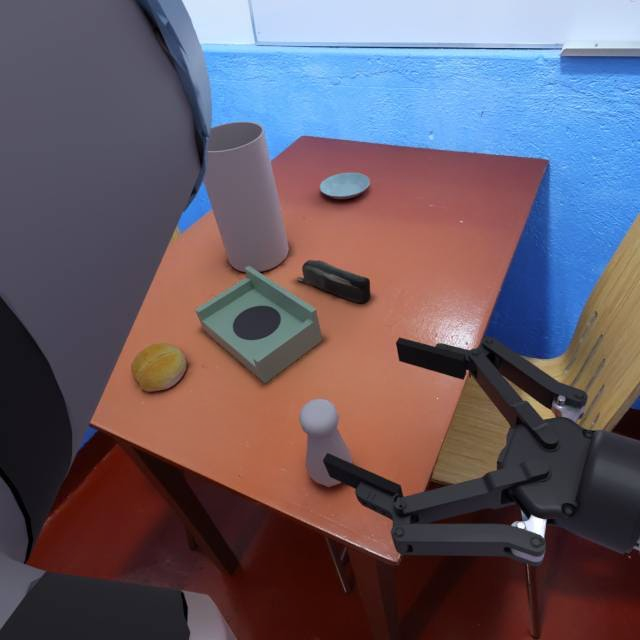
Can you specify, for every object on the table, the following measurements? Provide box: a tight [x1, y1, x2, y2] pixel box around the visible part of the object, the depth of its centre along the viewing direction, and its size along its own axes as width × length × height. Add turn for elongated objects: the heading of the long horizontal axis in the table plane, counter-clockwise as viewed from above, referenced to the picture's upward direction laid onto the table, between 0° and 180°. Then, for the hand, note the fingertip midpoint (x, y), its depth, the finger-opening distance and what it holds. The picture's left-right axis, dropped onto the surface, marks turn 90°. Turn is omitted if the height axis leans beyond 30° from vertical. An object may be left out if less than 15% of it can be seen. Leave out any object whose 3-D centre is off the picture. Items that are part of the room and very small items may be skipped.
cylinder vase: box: [203, 121, 290, 273], centre depth 88 cm, size 12×12×25 cm
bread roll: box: [130, 342, 188, 393], centre depth 75 cm, size 8×9×4 cm
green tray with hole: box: [194, 266, 323, 384], centre depth 77 cm, size 12×18×7 cm, turn 43°
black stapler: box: [296, 259, 371, 304], centre depth 84 cm, size 5×3×15 cm
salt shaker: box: [298, 398, 354, 488], centre depth 55 cm, size 6×6×13 cm
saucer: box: [319, 172, 371, 200], centre depth 111 cm, size 12×12×2 cm
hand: (366, 402), depth 42 cm, fingers open, 13 cm apart
